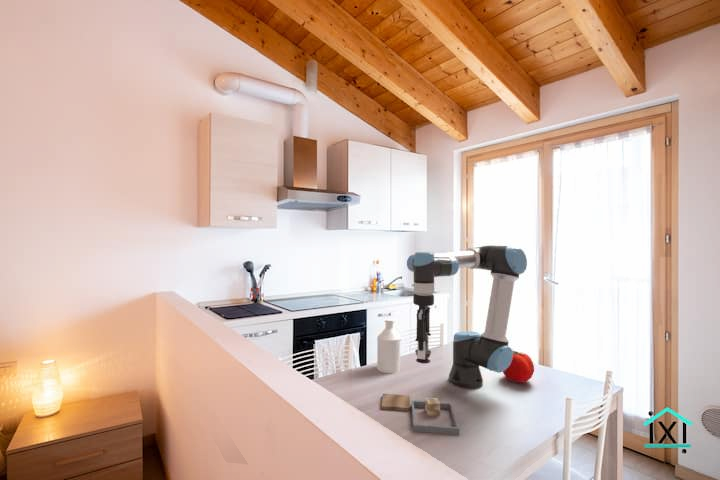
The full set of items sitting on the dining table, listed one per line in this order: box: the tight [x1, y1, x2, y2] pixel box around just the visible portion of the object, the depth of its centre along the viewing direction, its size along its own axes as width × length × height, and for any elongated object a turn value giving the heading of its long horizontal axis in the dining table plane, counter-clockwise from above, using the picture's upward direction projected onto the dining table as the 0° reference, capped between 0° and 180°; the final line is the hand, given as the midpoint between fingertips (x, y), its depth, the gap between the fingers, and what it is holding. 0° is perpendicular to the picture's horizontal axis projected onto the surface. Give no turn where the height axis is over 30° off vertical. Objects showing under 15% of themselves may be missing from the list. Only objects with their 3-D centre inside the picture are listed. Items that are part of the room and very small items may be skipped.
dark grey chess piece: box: [415, 332, 432, 364], centre depth 132 cm, size 6×6×12 cm
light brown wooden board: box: [381, 393, 411, 412], centre depth 142 cm, size 11×11×1 cm
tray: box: [411, 400, 461, 435], centre depth 131 cm, size 16×19×2 cm
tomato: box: [502, 349, 535, 384], centre depth 167 cm, size 16×14×14 cm
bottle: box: [376, 318, 402, 374], centre depth 179 cm, size 12×12×25 cm
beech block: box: [424, 397, 441, 416], centre depth 136 cm, size 4×4×4 cm
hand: (423, 355), depth 132 cm, fingers closed on dark grey chess piece, 6 cm apart
